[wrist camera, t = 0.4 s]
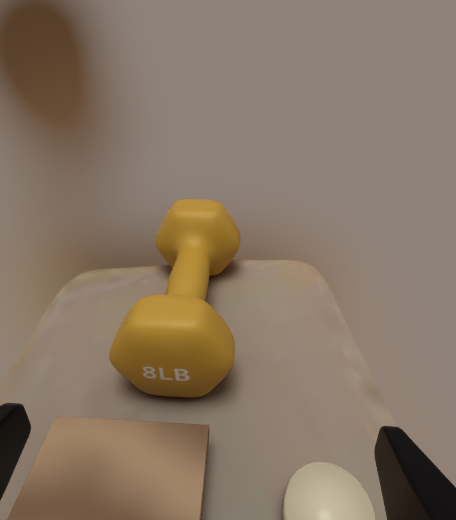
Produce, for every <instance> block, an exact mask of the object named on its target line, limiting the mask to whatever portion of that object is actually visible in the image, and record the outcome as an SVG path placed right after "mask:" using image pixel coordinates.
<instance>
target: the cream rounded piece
mask: <svg viewBox="0 0 456 520" xmlns="http://www.w3.org/2000/svg"><path fill="white" fill-rule="evenodd" d="M282 520H375V515H374V510H373V507H372V504H371V502H370V499H369V497H368V495H367V493H366V492H365V490H364V489H363V487H362V486H361V484H360V483H359V482H358V481H357V480H356V479H355V478H354V477H353V476H352V475H351V474H350V473H348V472H347V471H346V470H344V469H342V468H340V467H339V466H336V465H334V464H330V463H325V462H315V463H310V464H307V465H305V466H303V467H302V468H300V469H299V470H298V471H297V472H296V473H295V474H294V475H293V477H292V478H291V480H290V482H289V484H288V487H287V490H286V494H285V498H284V501H283V506H282Z"/></svg>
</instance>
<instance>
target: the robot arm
mask: <svg viewBox="0 0 456 520" xmlns="http://www.w3.org/2000/svg"><path fill="white" fill-rule="evenodd" d="M30 431H31V424H30V421H29V419H28V416H27V414H26V411H25V408H24V406H23V405H22V404H17V403H6V404H3V405H1V406H0V500H1V498H2V496H3V494H4V492H5V490H6V487H7V485H8V483H9V481H10V478H11V476H12V474H13V471H14V469H15V467H16V464H17V462H18V460H19V458H20V455H21V453H22V451H23V448H24V446H25V444H26V442H27V439H28V437H29V434H30ZM375 461H376V466H377V471H378V476H379V481H380V486H381V491H382V496H383V501H384V506H385V511H386V516H387V520H456V488H455V486H454V485H453V484H452V483H451V482H450V481H449V480H448V479H447V478H446V477H445V476H444V474H443V473H442V472H441V471H440V470H439V469H438V468H437V467H436V466H435V465H434V464H433V463H432V462H431V460H430V459H429V458H428V457H427V456H426V455H425V454H424V453H423V452H422V451H421V450H420V449H419V448H418V446H416V444H415V443H414V442H413V441H412V440H411V439H410V438H409V437H408V436H407V434H406V433H405V432H404V431H403V430H402V429H400V428H399V427H391V426H382V427H381V428H380V431H379V434H378V438H377V442H376V445H375Z"/></svg>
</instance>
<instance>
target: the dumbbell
mask: <svg viewBox="0 0 456 520" xmlns="http://www.w3.org/2000/svg"><path fill="white" fill-rule="evenodd" d="M239 245H240V232H239V230H238V228H237V226H236V224H235V222H234V221H233V219H232V217H231V216H230V214H229V213H228V211H227V210H226V208H225V207H224V206H223V205H222V204H221V203H219V202H217V201H212V200H200V199H183V200H178V201H176V202H175V203H174V204H173V205H172V206H171V208H170V209H169V211H168V213H167V215H166V216H165V218H164V220H163V222H162V224H161V226H160V229H159V231H158V233H157V236H156V246H157V249H158V250H159V252H160V253H161V255H162V256H163V257H164V259H165V260H166V261H167V262H168V263H169V265H170V266H171V267H172V268H173V269H172V271H171V274H170V277H169V280H168V285H167V289H166V295H151V296H146V297H143V298H141V299H140V300H138V301H137V302H136V303H135V304H134V305H133V307H132V308H131V309H130V311H129V312H128V314H127V316H126V317H125V319H124V320H123V322H122V324H121V326H120V328H119V330H118V332H117V334H116V337H115V339H114V342H113V344H112V347H111V349H110V354H109V357H110V361H111V363H112V365H113V366H114V367H115V369H116V370H117V371H118V372H119V373H120V374H122V375H123V376H124V377H125V378H126V379H127V380H129V381H130V382H131V383H132V384H133V385H135V386H136V387H137V388H138V389H140V390H142V391H143V392H146V393H148V394H152V395H158V396H172V397H200V396H203V395H205V394H207V393H209V392H210V391H211V390H212V389H213V388H215V387H216V386H217V385H218V384H219V383H220V382H221V381H222V380H223V379H224V377H225V376H226V375H227V374H228V373H229V371H230V370H231V368H232V366H233V363H234V355H235V343H234V337H233V335H232V333H231V331H230V329H229V327H228V326H227V324H226V323H225V321H224V320H223V319H222V317H221V316H220V315H219V314H218V313H217V312H216V311H215V310H214V309H213V308H212V307H211V306H210V305H209V304H208V303H207V302H205V299H206V294H207V289H208V282H209V276H213V275H217V274H219V273H221V272H222V271H223V270H224V269H225V268H226V266H227V265H228V264H229V263H230V261H231V260H232V259H233V257H234V256H235V254H236V253H237V251H238V249H239Z"/></svg>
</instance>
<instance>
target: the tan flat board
mask: <svg viewBox="0 0 456 520" xmlns="http://www.w3.org/2000/svg"><path fill="white" fill-rule="evenodd" d="M208 441H209V425H200V424H183V423H166V422H148V421H131V420H114V419H96V418H79V417H62V416H56V417H55V419H54V421H53V423H52V425H51V427H50V430H49V432H48V434H47V436H46V438H45V440H44V442H43V444H42V447H41V449H40V451H39V453H38V455H37V457H36V459H35V461H34V464H33V466H32V468H31V470H30V472H29V474H28V476H27V478H26V481H25V483H24V485H23V487H22V489H21V491H20V493H19V496H18V498H17V500H16V502H15V504H14V506H13V508H12V510H11V513H10V515H9V517H8V519H7V520H201V513H202V502H203V492H204V482H205V472H206V462H207V451H208Z"/></svg>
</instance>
